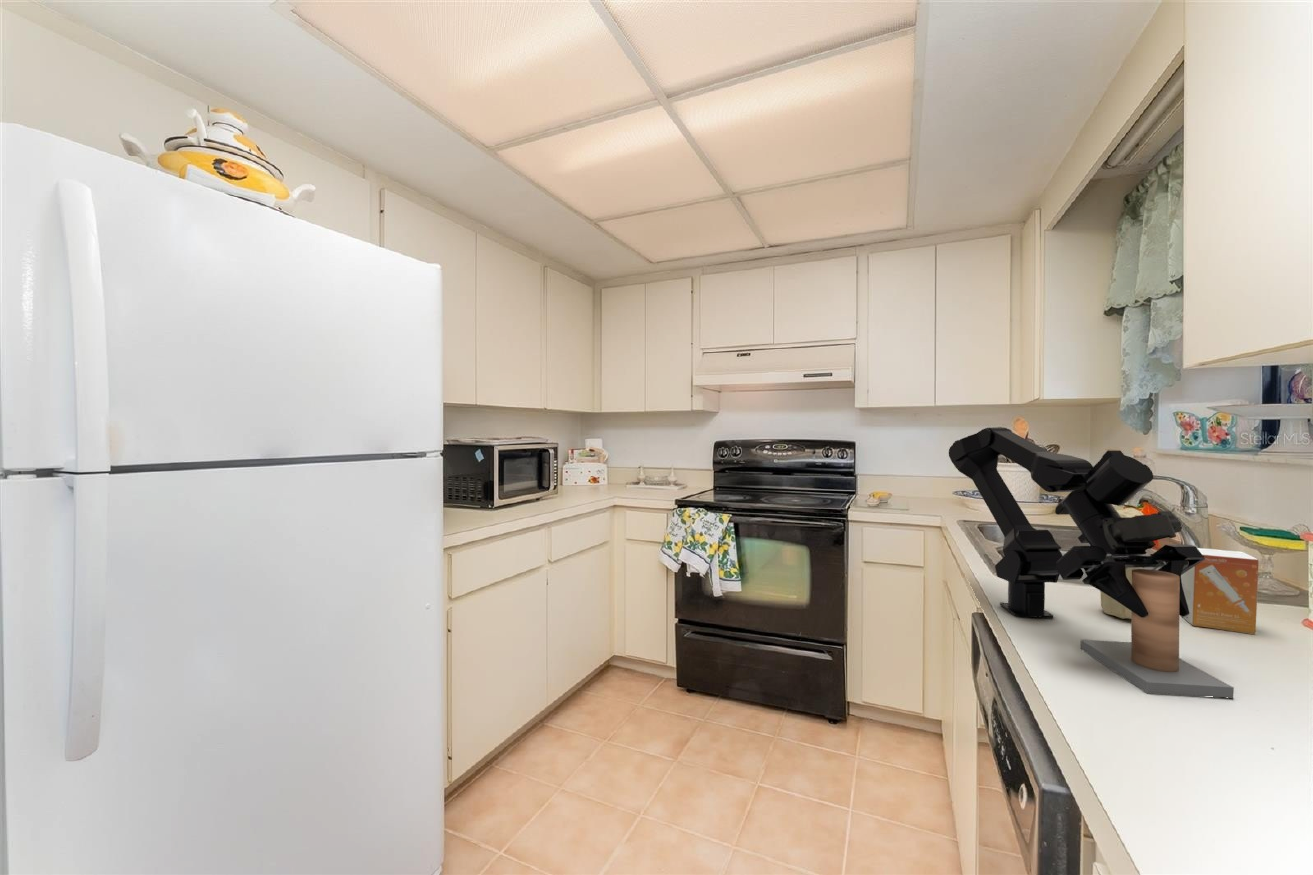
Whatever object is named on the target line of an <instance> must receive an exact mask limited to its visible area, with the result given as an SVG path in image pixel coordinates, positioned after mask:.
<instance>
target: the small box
mask: <svg viewBox="0 0 1313 875" xmlns="http://www.w3.org/2000/svg"><path fill="white" fill-rule="evenodd" d="M1196 548H1197V549H1198V550H1199V551H1200V553H1201V554H1202V555H1203V556H1204V558H1205V560H1203V561H1202V562H1200V563H1199V564H1197V565H1196V566H1194V567H1193V568H1191V569H1190V570H1188V571H1187V572H1185V573H1184V574H1182V575H1181V581H1182V587H1183V591H1184V594H1185V598H1186V602H1187V605H1188V609H1189V615H1187V616H1185V617H1182V618H1183V619H1184V620H1185V621H1186V622H1188V623H1189V624H1190V625H1192V626H1194V627H1203V628H1210V629H1216V630H1223V631H1229V632H1237V633H1243V634H1249V635H1256V632H1257V631H1256V630H1257V629H1256V628H1257V611H1258V610H1257V609H1258V588H1259V585H1258V583H1259V566H1260V565H1259V562H1260V561H1259V559H1257V558H1256V557H1254V556H1252V555H1250V554H1248V553H1245V552H1244V551H1237V550H1234V551H1233V550H1224V549H1214V548H1198V547H1196Z"/></svg>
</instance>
